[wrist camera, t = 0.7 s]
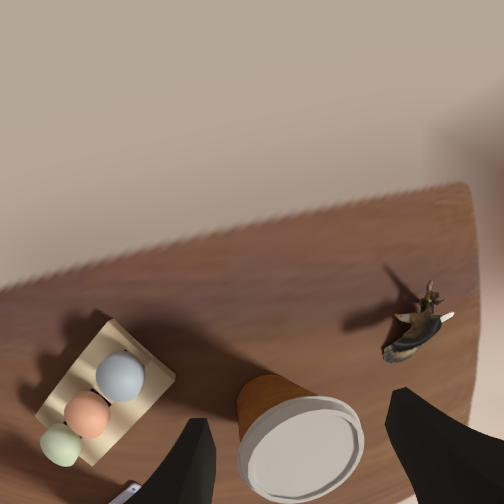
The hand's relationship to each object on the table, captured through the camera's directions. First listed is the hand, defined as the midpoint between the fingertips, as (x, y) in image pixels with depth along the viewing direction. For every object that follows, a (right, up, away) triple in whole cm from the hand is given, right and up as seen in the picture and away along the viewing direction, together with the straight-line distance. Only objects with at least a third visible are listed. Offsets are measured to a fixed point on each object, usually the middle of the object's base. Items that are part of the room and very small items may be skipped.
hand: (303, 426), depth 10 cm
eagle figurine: (+16, -2, +22) cm, 28 cm away
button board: (-17, -8, +15) cm, 24 cm away
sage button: (-20, -12, +12) cm, 26 cm away
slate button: (-13, -4, +14) cm, 20 cm away
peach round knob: (-17, -8, +13) cm, 23 cm away
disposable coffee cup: (0, -9, +18) cm, 20 cm away
